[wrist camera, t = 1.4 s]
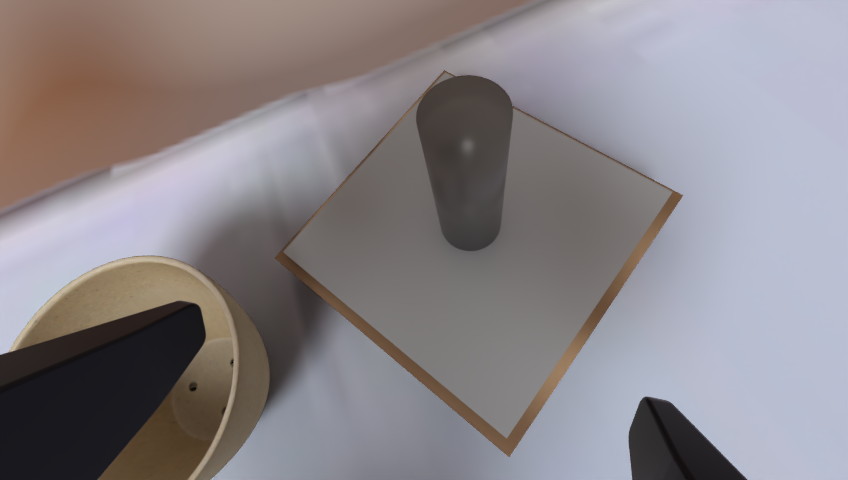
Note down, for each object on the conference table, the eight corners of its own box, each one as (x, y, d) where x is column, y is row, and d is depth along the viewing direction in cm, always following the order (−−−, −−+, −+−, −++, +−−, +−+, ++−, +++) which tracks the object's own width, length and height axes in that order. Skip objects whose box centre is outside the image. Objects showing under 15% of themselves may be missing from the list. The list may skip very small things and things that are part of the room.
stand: (505, 448, 19) (509, 456, 16) (299, 274, 23) (274, 257, 21) (657, 221, 22) (683, 195, 19) (448, 105, 26) (444, 70, 24)
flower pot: (139, 316, 24) (7, 284, 17) (305, 278, 23) (235, 230, 17) (125, 516, 20) (-51, 574, 13) (322, 476, 20) (241, 516, 13)
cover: (505, 437, 16) (529, 474, 8) (288, 255, 21) (166, 166, 13) (667, 197, 19) (799, 54, 11) (446, 79, 23) (427, -86, 15)
